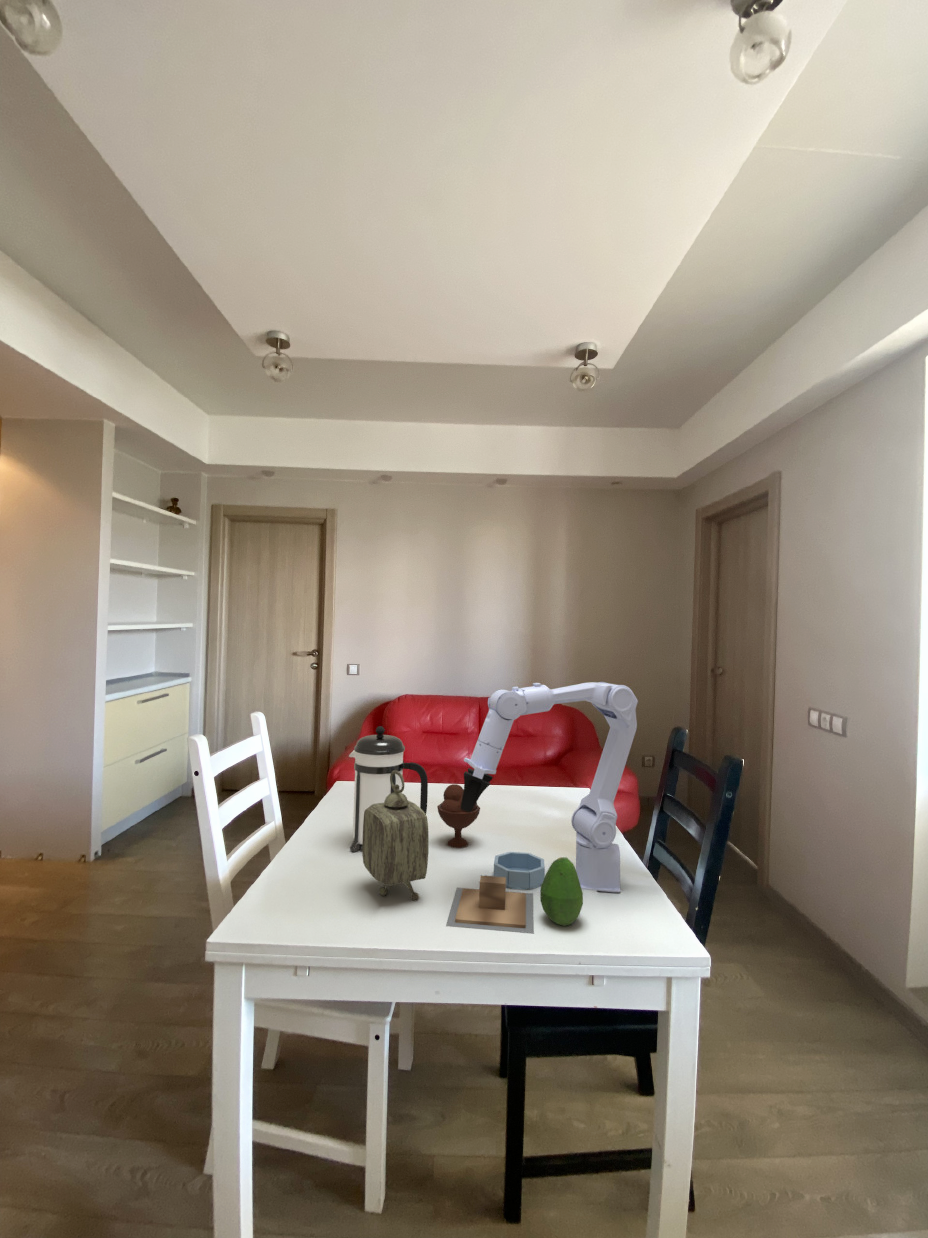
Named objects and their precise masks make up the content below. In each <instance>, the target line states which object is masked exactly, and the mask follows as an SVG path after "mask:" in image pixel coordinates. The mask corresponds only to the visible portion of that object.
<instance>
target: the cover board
mask: <svg viewBox="0 0 928 1238" xmlns="http://www.w3.org/2000/svg"><path fill="white" fill-rule="evenodd" d="M478 885H479V886H478V887H479V889H478V888H470V889H466V888H467V887H462V888H463V890H462V894H461V898H460V902H459V906H458V910H457V914H456V918H455V922H456V923H467V924H479V925H491V926H503V927H514V928H526V893H527V892H521V893H517V892H518V891H517V892H516V891H508V892H506V891H507V890H506V889H507V887H506V877H495V876H494V875H480V878H479V884H478Z"/></svg>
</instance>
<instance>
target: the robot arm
mask: <svg viewBox="0 0 928 1238" xmlns="http://www.w3.org/2000/svg"><path fill="white" fill-rule="evenodd" d="M583 701H585V702H587V703H588V702H589V703H591V705H592V706H593V707H594V708H595V709H596V710H597V711H598V712H600V713H601V714H602V715H603V717H604V718H605V720H606V722H607V724H608V725H609V729H608V730H609V731H608V733H607V738H606V740H605V743H604V746H603V750H602V752H601V755H600V759H599V762H598V765H597V768H596V772H595V774H594V778H593V780H592V784H591V787H590V790H589V792H588V794H587V795H586V796H583V798H582V799H580V803H579V804H578V806H577V808H576V809H575V810H574V811H573V813H572V815H571V826H572V828H573V830H574V831H575V833H576V835H575V837H576V838H575V839H576V840H575V844H576V845H575V869H576V872H577V875H578V879H579V882H580V885H581V889H582V890H589V891H597V892H607V893H621V849H620V846H619V844H618V843H613V842H614V841H615V839H616V836H617V827H616V826H617V825H616V823H617V819H618V813H617V810H616V809H615V806H614V805H615V804H614V802H615V799H616V795H617V793H618V790H619V786H620V783H621V781H622V777H623V773H624V770H625V767H626V764H627V760H628V757H629V754H630V751H631V748H632V744H633V741H634V738H635V735H636V732H637V728H638V721H637V711H636V709H637V706H638V703H639V700H638V699H637V696H636V695H635V694H634V692H633V690H632V689H631V688H630V687H628V686H627V685H624V684H615V683H608V682H605V681H600V682H599V681H598V682H596V681H593V682H592V681H591V682H582V683H579V684H573V685H567V686H562V687H557V688H552V689H551V688H549V687H548V686H547V685H545V684H542V683H540V682H533V683H532V685H531V686H526V687H520V688H519V686H513V687H512V688H511V690H506V689H499V690H496V691H495V692H493V693H492V694H491V696H490V697H488V699H487V708H488V712H487V714H486V717H485V719H484V722H483V725H482V727H481V730H480V733H479V736H478V737H477V738H478V739H477V741H476V743H475V746H474V748H473V751H472V754H471V757H470V758H467V757H465V758H464V759H463V762H465V763H467V764H468V765H469V766H470V767H471V768H467V771H464V772H463V781H464V783H463V789H464V792H463V797H462V802H461V809H462V810H464V811H467V812H469V813H470V812H471V811H472V809H473V808H474V806H475V804H476V802H477V803H478V800H479V799H480V796H481V795H482V794H483V793H484V791H485V790H486V789H488V787H489V786H490V785H491V781H492V780H493V776H492V775H496V774H497V768H498V765H499V763H500V760H501V757H502V754H503V750H504V748H505V746H506V743H507V740H508V738H509V734H510V732H511V729H512V726H513V724H514V721H515V720H517V719H518V718H520V717H521V716H526V715H532V714H538V713H544V712H549V711H551V709H552V708H553V706H554V705H557V704H566V703H567V704H568V703H575V702H576V703H577V702H583Z"/></svg>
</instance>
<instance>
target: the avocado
mask: <svg viewBox="0 0 928 1238" xmlns="http://www.w3.org/2000/svg"><path fill="white" fill-rule="evenodd" d="M539 893H540V895H539V896H540V900H539V901H540V903H541V906H542V910H543V912H544V913H545V914H546V916H547V917H548V918H549V919H550V920H551V921H552V922H553V923H555V924H556V925H561V926H564V927H565V926H569V925H572V924H573V923H575V922H576V921H577V920H578V917H579V916H580V913H581V910H582V909H583V905H584V898H583V897H584V894H583V889H581V885H580V882H579V879H578V875H577V872H576V865H574V863H573V862H572V861H571V860H570V859H569V858H568V857H558V858H557V859H555V860H553V862H552V863H551V864H550V865H549V868H548V869H547V871H546V872H545V877H544V881H543V883H542V885H541V886H540V892H539Z"/></svg>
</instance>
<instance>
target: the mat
mask: <svg viewBox="0 0 928 1238" xmlns="http://www.w3.org/2000/svg"><path fill="white" fill-rule="evenodd" d="M463 888H464V887H456V889H455V892H454V896H453V900H452V903H451V907H450V909H449V913H448V917H447V921H446V925H445V927H450V928H451V927H452V928H465V929H472V930H473V929H474V930H475V929H476V930H487V931H499V932H510V933H522V934H530V935H531V934H532V935H533V934H535V931H534V929H535V927H534V925H535V924H534V923H535V922H534V921H535V919H534V893H533V892H532V893H530V892H525V893H526V928H514V927H503V926H491V925H479V924H467V923H456V922H455V918H456V914H457V910H458V906H459V902H460V898H461V894H462V890H463ZM465 888H466V889H471V888H468V887H465ZM506 892H509V891H507V890H506ZM517 893H522V892H519V891H517Z"/></svg>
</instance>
